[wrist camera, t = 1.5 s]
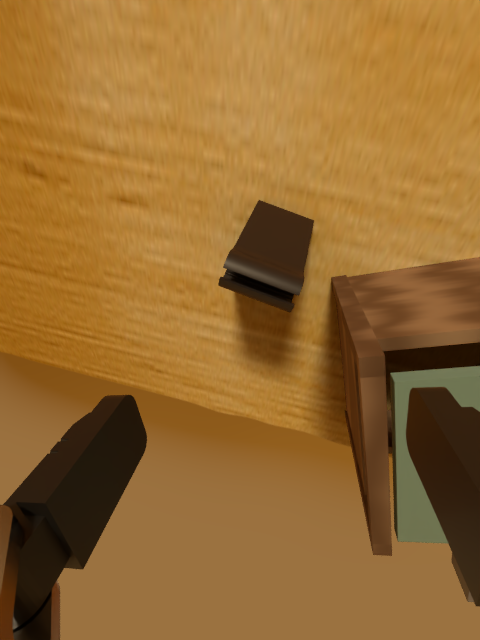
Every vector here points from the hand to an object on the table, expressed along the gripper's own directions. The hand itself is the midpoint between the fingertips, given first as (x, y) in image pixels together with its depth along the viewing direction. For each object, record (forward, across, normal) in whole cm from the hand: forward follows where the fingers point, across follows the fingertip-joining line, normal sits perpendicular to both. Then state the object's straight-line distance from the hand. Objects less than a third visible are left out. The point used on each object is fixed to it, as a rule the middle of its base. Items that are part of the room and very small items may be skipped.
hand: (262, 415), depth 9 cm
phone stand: (+27, +1, +1) cm, 27 cm away
